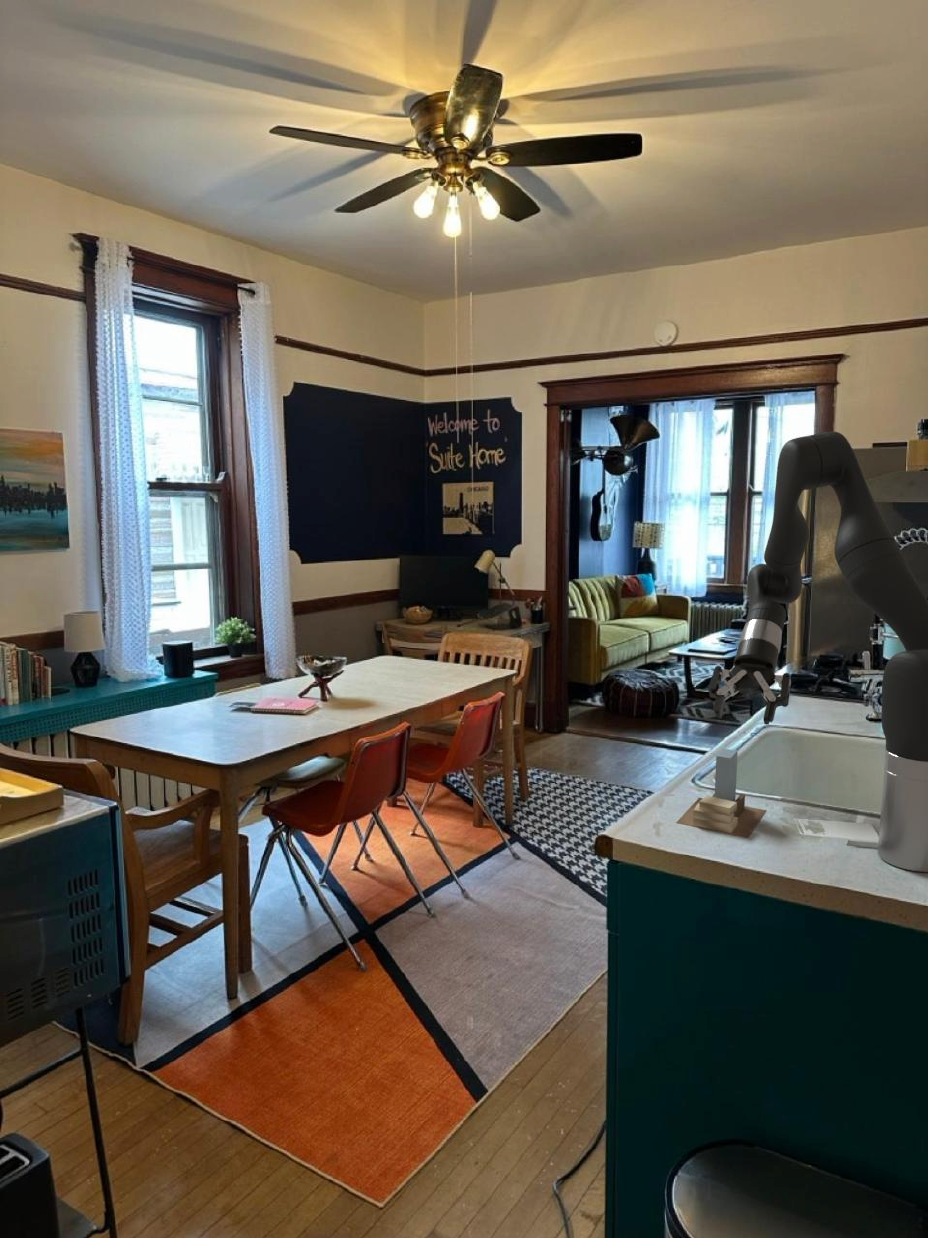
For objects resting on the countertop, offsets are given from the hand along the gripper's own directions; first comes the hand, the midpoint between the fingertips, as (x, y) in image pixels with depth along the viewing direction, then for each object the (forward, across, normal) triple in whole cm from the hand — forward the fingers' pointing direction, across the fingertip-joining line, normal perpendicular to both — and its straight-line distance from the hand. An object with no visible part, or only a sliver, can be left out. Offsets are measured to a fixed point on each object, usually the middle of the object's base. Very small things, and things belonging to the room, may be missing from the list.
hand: (741, 719), depth 148 cm
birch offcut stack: (+22, 0, -1) cm, 22 cm away
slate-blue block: (+18, 0, +4) cm, 18 cm away
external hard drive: (+17, +18, +7) cm, 25 cm away
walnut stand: (+19, 0, +3) cm, 20 cm away
